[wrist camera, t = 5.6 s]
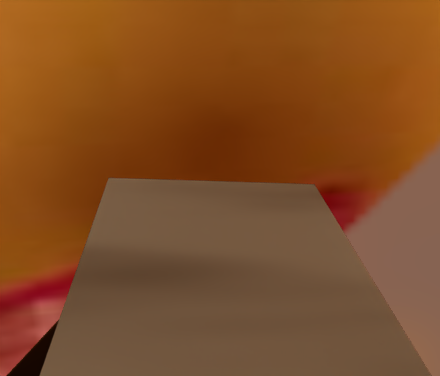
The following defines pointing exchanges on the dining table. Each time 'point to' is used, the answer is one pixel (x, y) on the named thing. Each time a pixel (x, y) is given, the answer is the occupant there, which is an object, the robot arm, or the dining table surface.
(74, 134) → the dining table surface
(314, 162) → the dining table surface
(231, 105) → the dining table surface
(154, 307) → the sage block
